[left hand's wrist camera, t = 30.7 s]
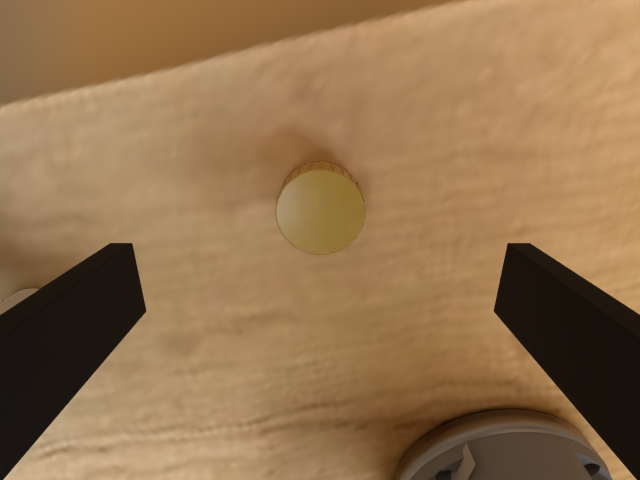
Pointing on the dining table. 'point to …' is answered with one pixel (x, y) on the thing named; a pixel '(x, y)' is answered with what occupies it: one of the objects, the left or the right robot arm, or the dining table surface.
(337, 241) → the cap
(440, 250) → the dining table surface
